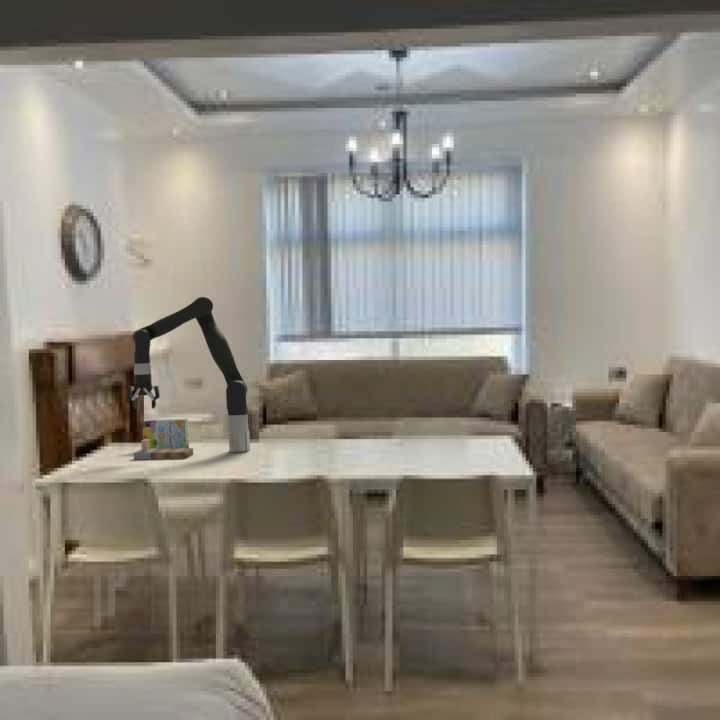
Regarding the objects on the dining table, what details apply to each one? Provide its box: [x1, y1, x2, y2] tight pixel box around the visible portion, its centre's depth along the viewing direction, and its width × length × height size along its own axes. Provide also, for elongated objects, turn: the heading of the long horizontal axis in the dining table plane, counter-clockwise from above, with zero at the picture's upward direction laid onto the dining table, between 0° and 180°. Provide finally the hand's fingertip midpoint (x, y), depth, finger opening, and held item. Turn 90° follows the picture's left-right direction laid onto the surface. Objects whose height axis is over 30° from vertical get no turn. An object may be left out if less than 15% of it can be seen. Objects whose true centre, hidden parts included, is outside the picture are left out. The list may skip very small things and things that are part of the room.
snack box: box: [142, 418, 190, 449], centre depth 442 cm, size 21×6×15 cm, turn 84°
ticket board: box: [151, 447, 194, 460], centre depth 420 cm, size 16×12×3 cm
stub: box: [132, 439, 158, 460], centre depth 421 cm, size 8×12×8 cm, turn 177°
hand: (144, 408), depth 421 cm, fingers open, 8 cm apart
